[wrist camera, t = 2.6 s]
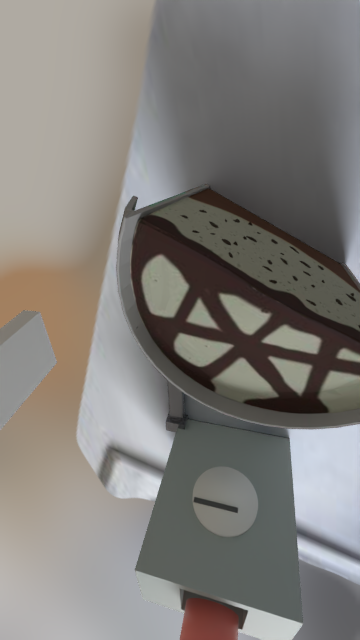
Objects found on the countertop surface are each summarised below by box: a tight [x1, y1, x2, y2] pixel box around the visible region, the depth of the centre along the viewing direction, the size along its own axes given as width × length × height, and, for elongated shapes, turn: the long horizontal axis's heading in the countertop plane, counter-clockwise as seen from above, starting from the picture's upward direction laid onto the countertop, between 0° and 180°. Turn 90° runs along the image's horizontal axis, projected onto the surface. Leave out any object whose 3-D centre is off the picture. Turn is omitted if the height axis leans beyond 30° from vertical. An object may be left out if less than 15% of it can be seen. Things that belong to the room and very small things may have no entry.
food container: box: [116, 184, 360, 429], centre depth 15 cm, size 12×6×10 cm, turn 64°
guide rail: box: [166, 381, 188, 432], centre depth 24 cm, size 2×17×1 cm, turn 1°
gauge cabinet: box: [135, 419, 303, 640], centre depth 24 cm, size 10×6×12 cm, turn 91°
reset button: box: [180, 598, 239, 640], centre depth 18 cm, size 3×3×2 cm
